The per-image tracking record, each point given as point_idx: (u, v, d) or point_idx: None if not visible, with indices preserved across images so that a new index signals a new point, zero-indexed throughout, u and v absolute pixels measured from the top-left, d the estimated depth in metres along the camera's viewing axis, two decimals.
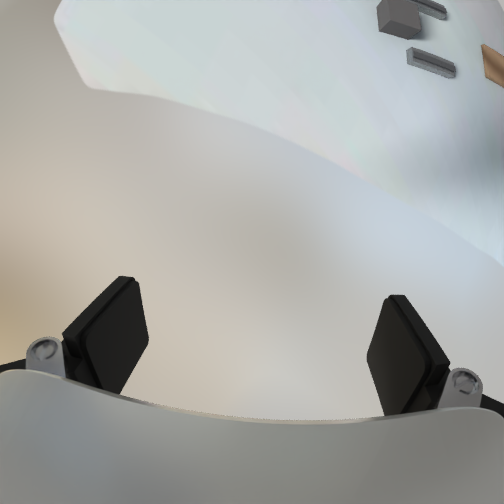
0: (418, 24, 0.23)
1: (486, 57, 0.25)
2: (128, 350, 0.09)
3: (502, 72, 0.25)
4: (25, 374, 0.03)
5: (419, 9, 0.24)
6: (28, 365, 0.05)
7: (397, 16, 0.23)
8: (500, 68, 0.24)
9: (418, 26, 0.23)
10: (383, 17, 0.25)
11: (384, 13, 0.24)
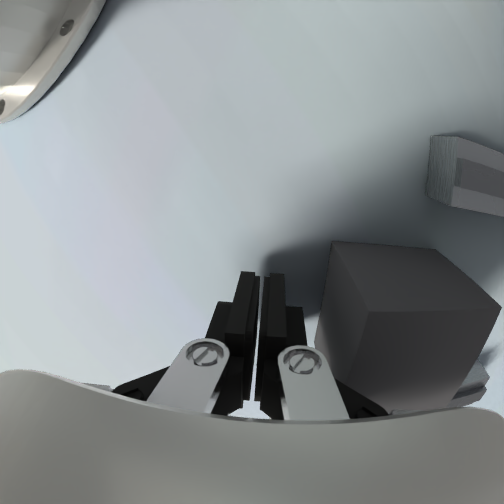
0: (445, 399, 0.07)
1: None
2: None
3: None
4: (25, 374, 0.03)
5: None
6: (176, 362, 0.06)
7: None
8: None
9: (440, 406, 0.07)
10: (327, 352, 0.10)
11: (333, 352, 0.09)
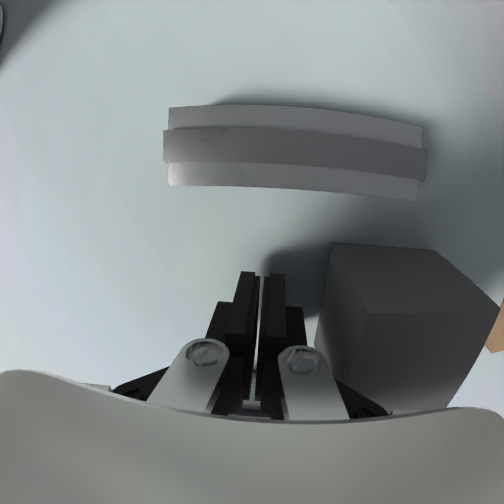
0: (445, 400, 0.07)
1: None
2: None
3: None
4: (25, 374, 0.03)
5: None
6: (176, 362, 0.06)
7: None
8: None
9: (439, 407, 0.07)
10: (327, 353, 0.10)
11: (332, 353, 0.09)
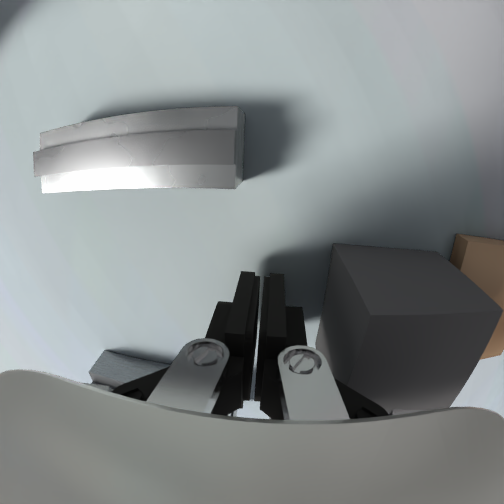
0: (447, 401, 0.07)
1: None
2: None
3: None
4: (25, 374, 0.03)
5: None
6: (176, 362, 0.06)
7: None
8: None
9: None
10: (329, 355, 0.09)
11: (334, 355, 0.09)
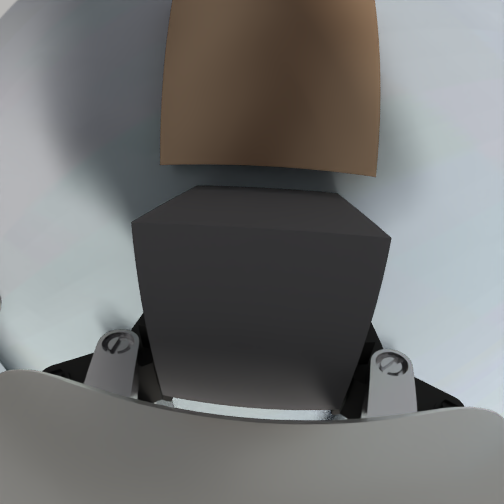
0: (343, 252, 0.05)
1: None
2: None
3: (295, 35, 0.07)
4: (25, 374, 0.03)
5: None
6: (96, 355, 0.06)
7: (308, 381, 0.06)
8: (274, 46, 0.07)
9: (363, 257, 0.05)
10: None
11: None
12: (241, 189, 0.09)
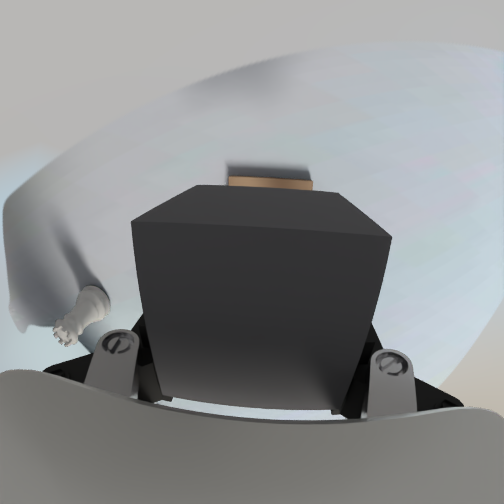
0: (343, 251, 0.05)
1: None
2: None
3: None
4: (25, 374, 0.03)
5: None
6: (96, 355, 0.06)
7: (308, 381, 0.06)
8: None
9: (364, 256, 0.05)
10: None
11: None
12: (241, 188, 0.09)
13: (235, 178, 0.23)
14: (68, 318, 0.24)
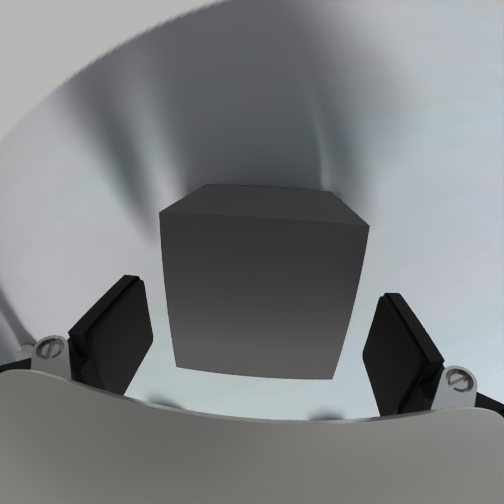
0: (330, 237, 0.06)
1: None
2: (133, 349, 0.09)
3: None
4: (25, 374, 0.03)
5: None
6: (34, 363, 0.05)
7: (304, 350, 0.08)
8: None
9: (346, 241, 0.06)
10: None
11: None
12: (246, 187, 0.10)
13: None
14: None
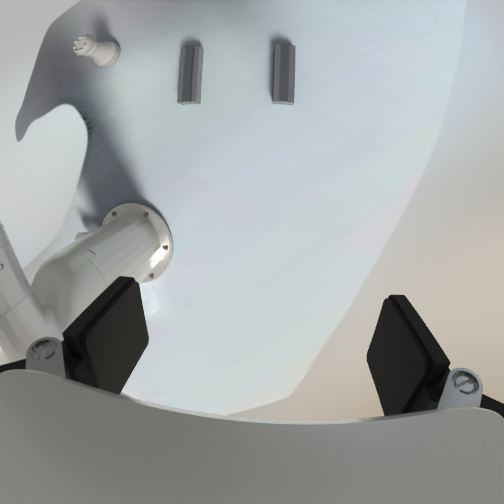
0: None
1: None
2: (128, 350, 0.09)
3: None
4: (25, 374, 0.03)
5: (200, 80, 0.31)
6: (28, 365, 0.05)
7: None
8: None
9: None
10: None
11: None
12: None
13: None
14: None
